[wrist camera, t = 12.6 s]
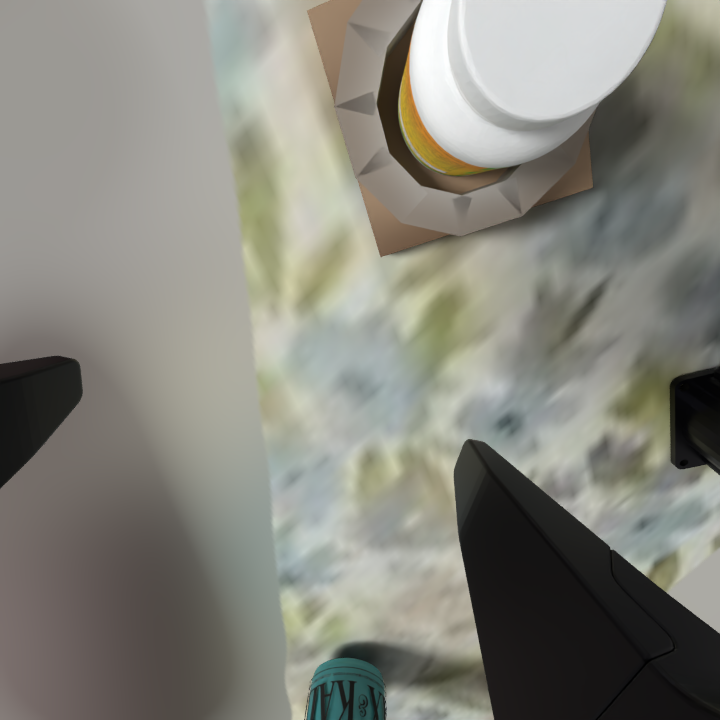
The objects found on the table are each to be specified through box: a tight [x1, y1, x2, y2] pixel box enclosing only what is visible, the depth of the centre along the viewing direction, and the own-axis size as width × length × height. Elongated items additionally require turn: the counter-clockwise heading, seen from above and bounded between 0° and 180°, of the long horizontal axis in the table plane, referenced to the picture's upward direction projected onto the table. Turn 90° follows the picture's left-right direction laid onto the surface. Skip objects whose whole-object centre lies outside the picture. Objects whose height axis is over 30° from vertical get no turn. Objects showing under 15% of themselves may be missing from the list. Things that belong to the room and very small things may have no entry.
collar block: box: [307, 0, 598, 257], centre depth 16 cm, size 10×10×3 cm
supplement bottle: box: [398, 0, 667, 176], centre depth 12 cm, size 5×5×10 cm
